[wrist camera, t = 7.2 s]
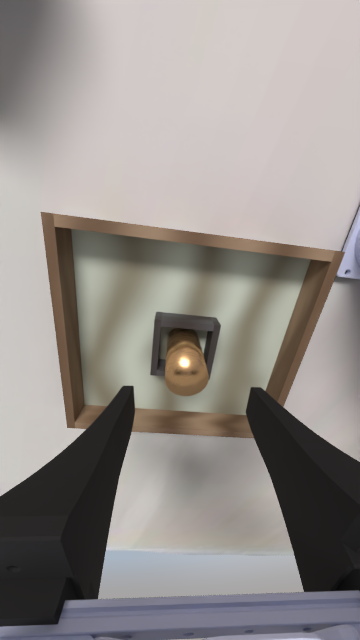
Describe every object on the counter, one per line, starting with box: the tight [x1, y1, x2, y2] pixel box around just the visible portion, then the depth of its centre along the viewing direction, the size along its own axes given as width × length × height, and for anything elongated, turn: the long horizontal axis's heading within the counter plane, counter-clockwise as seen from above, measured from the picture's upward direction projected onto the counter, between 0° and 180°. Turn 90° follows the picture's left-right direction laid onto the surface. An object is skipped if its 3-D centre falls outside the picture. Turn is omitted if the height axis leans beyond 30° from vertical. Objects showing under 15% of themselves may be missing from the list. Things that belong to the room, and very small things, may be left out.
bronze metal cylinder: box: [165, 328, 209, 396], centre depth 17 cm, size 3×3×6 cm
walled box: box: [41, 212, 345, 438], centre depth 19 cm, size 22×20×3 cm
